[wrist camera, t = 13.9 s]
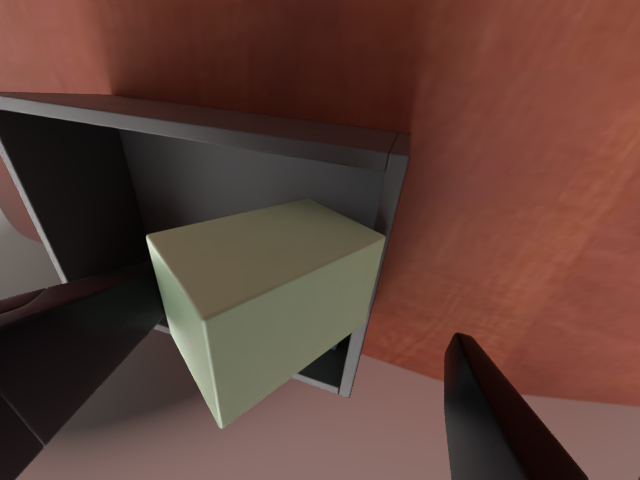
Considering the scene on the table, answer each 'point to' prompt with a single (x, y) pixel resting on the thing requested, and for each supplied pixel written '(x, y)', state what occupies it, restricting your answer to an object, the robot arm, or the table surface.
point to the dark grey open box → (188, 181)
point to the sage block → (262, 295)
